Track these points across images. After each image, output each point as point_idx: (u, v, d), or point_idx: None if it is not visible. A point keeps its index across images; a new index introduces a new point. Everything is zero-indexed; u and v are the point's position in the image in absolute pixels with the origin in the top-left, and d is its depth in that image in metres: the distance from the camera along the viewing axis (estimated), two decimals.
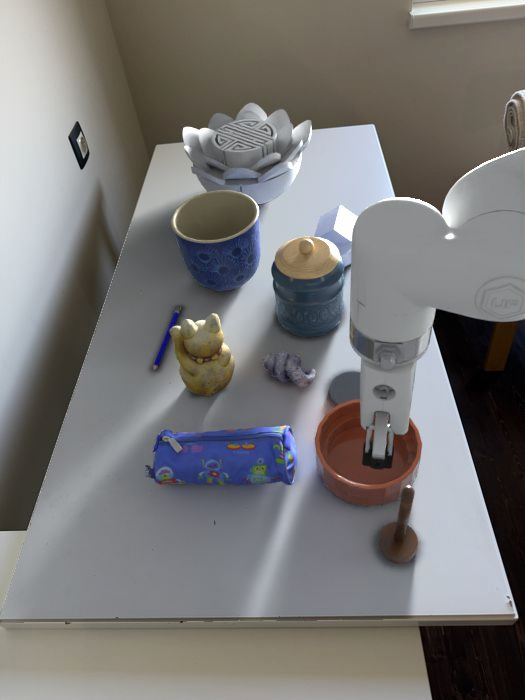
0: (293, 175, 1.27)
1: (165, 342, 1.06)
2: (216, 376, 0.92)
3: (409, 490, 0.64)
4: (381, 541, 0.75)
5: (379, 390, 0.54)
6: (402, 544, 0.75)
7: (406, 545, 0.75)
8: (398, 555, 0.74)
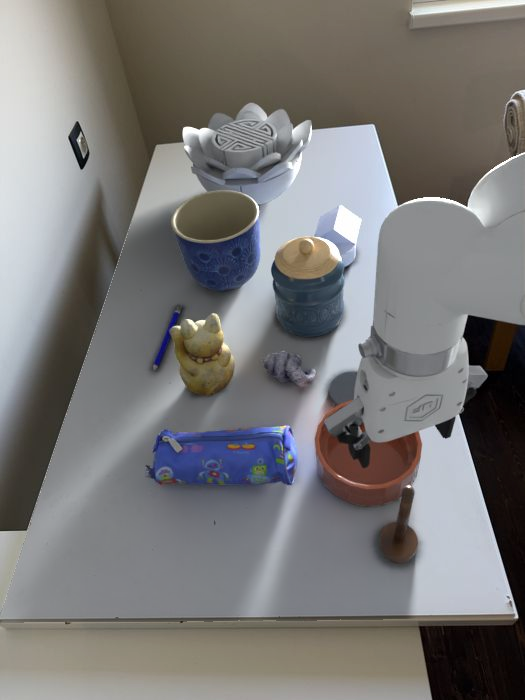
0: (293, 175, 1.27)
1: (165, 342, 1.06)
2: (216, 376, 0.92)
3: (409, 490, 0.64)
4: (381, 541, 0.75)
5: None
6: (402, 544, 0.75)
7: (406, 545, 0.75)
8: (398, 555, 0.74)
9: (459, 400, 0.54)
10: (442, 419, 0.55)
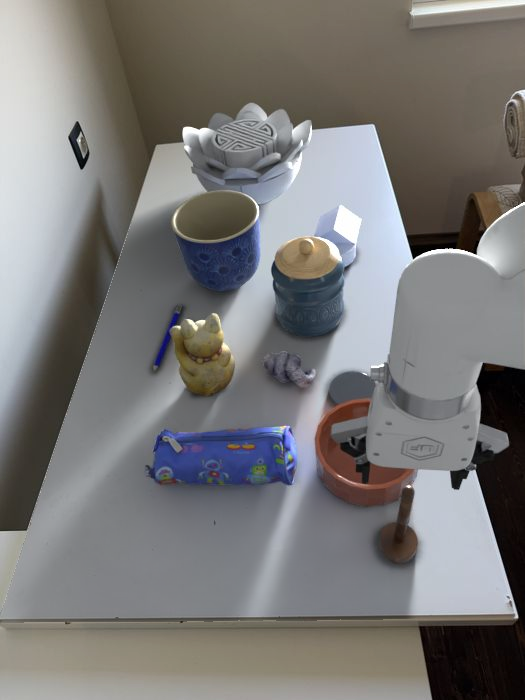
0: (293, 175, 1.27)
1: (165, 342, 1.06)
2: (216, 376, 0.92)
3: (409, 490, 0.64)
4: (381, 541, 0.75)
5: None
6: (402, 544, 0.75)
7: (406, 545, 0.75)
8: (398, 555, 0.74)
9: (464, 456, 0.53)
10: (443, 467, 0.55)
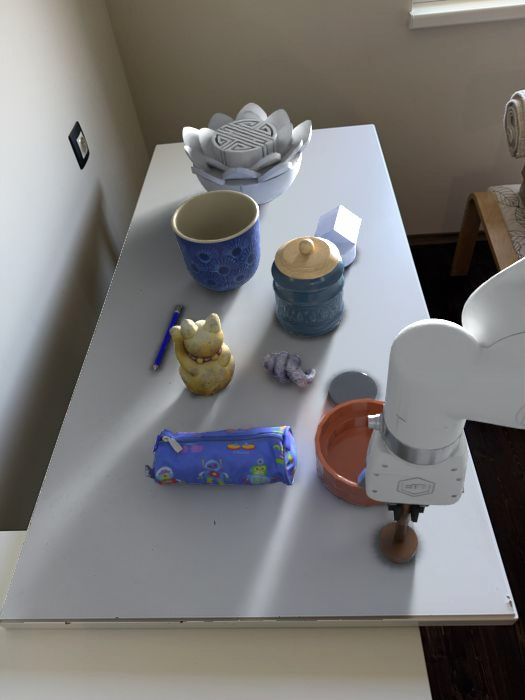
0: (293, 175, 1.27)
1: (165, 342, 1.06)
2: (216, 376, 0.92)
3: None
4: (381, 541, 0.75)
5: None
6: (402, 544, 0.75)
7: (406, 545, 0.75)
8: (398, 555, 0.74)
9: (454, 493, 0.59)
10: (436, 502, 0.60)
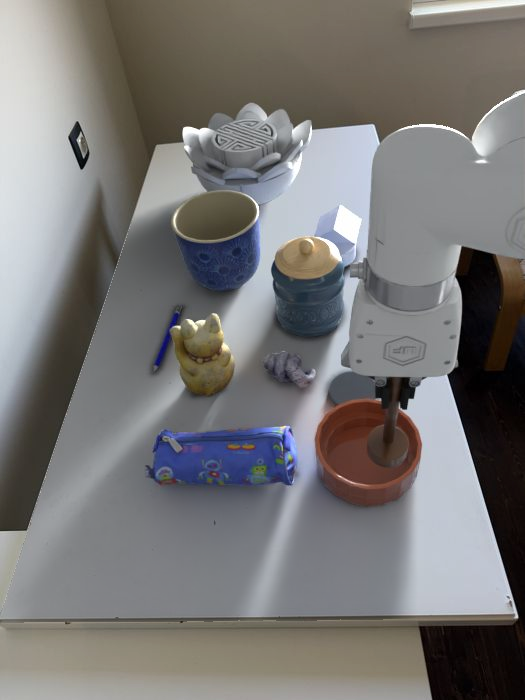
0: (293, 175, 1.27)
1: (165, 342, 1.06)
2: (216, 376, 0.92)
3: None
4: (369, 444, 0.69)
5: None
6: (391, 446, 0.69)
7: (396, 446, 0.68)
8: (388, 457, 0.68)
9: (447, 358, 0.53)
10: (427, 373, 0.54)
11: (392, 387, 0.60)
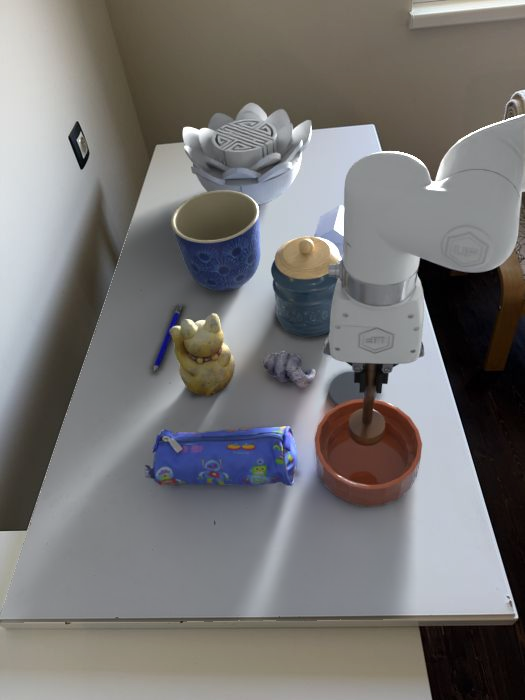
0: (293, 175, 1.27)
1: (165, 342, 1.06)
2: (216, 376, 0.92)
3: None
4: (350, 424, 0.78)
5: None
6: (370, 426, 0.77)
7: (374, 427, 0.77)
8: (366, 436, 0.76)
9: (412, 347, 0.61)
10: (396, 360, 0.63)
11: (368, 373, 0.69)
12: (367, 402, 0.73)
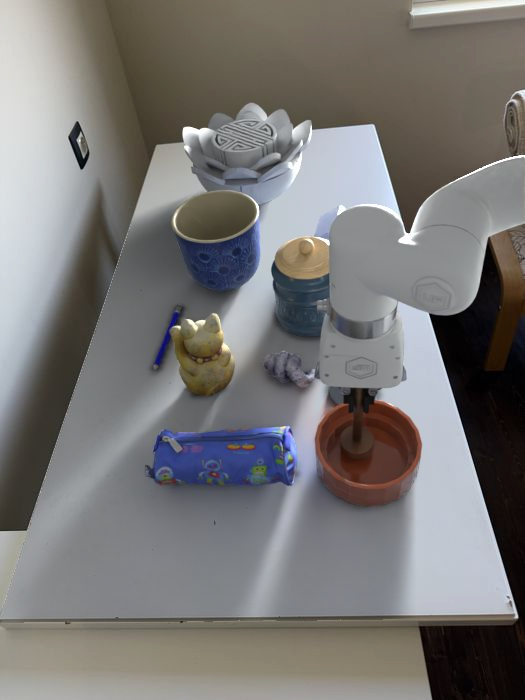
0: (293, 175, 1.27)
1: (165, 342, 1.06)
2: (216, 376, 0.92)
3: None
4: (341, 441, 0.84)
5: None
6: (359, 443, 0.83)
7: (363, 443, 0.83)
8: (356, 452, 0.82)
9: (394, 374, 0.67)
10: (380, 385, 0.69)
11: (356, 395, 0.75)
12: (356, 421, 0.79)
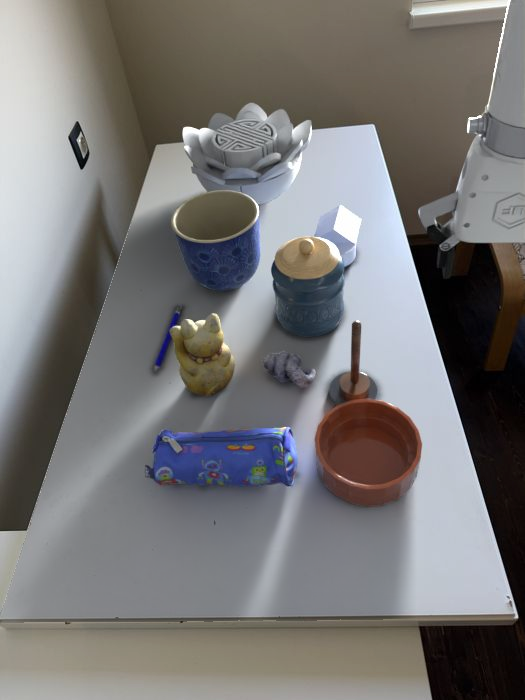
0: (293, 175, 1.27)
1: (166, 342, 1.06)
2: (216, 376, 0.92)
3: (357, 323, 0.82)
4: (340, 384, 0.93)
5: None
6: (357, 385, 0.92)
7: (360, 385, 0.92)
8: (353, 393, 0.91)
9: None
10: None
11: (353, 337, 0.84)
12: (354, 363, 0.88)
